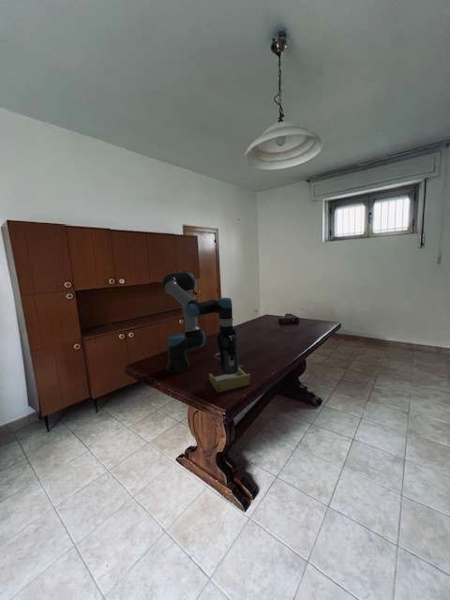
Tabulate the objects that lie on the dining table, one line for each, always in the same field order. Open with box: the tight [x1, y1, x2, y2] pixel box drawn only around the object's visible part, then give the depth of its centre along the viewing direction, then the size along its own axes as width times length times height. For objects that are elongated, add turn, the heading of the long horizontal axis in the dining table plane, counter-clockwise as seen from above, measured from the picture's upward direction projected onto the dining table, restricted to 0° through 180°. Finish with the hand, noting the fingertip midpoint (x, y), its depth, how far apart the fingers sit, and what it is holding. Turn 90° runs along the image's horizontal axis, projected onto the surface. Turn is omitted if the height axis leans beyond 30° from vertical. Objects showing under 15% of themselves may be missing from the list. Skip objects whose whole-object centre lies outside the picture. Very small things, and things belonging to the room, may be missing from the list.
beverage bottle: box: [216, 328, 239, 375], centre depth 143 cm, size 10×13×25 cm
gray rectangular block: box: [238, 364, 245, 372], centre depth 161 cm, size 6×4×3 cm, turn 120°
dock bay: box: [208, 368, 251, 393], centre depth 146 cm, size 20×16×6 cm
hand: (228, 362), depth 145 cm, fingers closed on beverage bottle, 10 cm apart
